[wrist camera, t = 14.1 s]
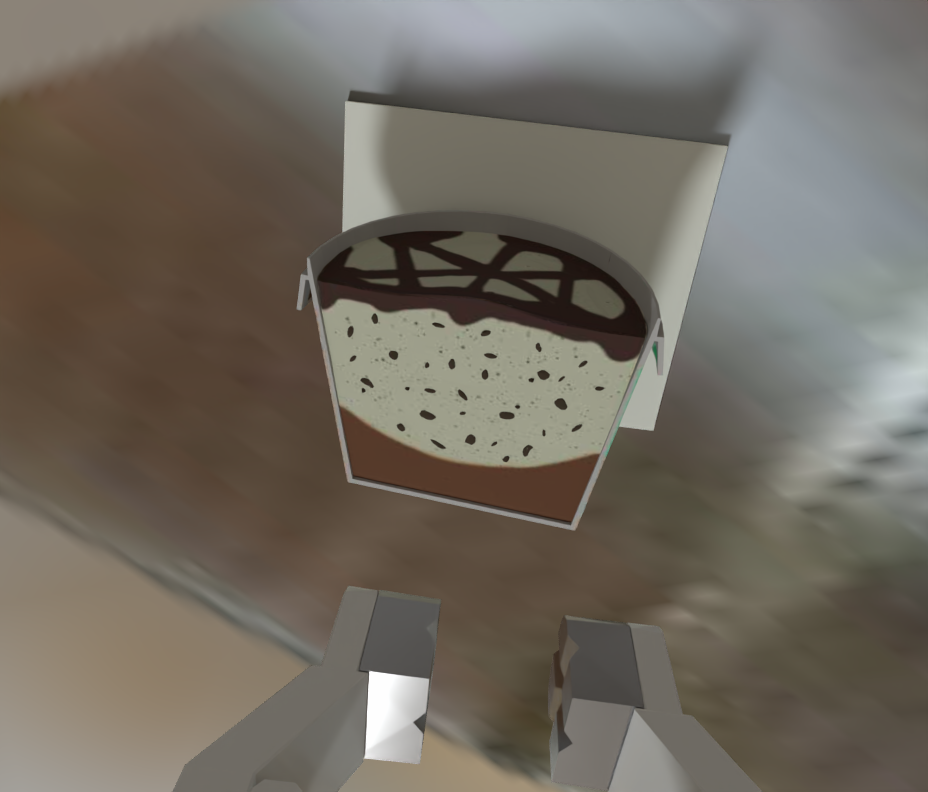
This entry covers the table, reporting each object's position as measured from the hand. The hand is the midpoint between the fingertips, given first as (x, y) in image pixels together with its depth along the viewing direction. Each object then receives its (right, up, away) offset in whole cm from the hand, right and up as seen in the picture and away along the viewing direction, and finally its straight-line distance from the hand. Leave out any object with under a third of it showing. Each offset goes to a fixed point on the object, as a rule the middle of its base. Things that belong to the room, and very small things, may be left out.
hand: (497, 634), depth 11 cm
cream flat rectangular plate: (+2, +9, +18) cm, 20 cm away
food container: (0, +1, +20) cm, 20 cm away
